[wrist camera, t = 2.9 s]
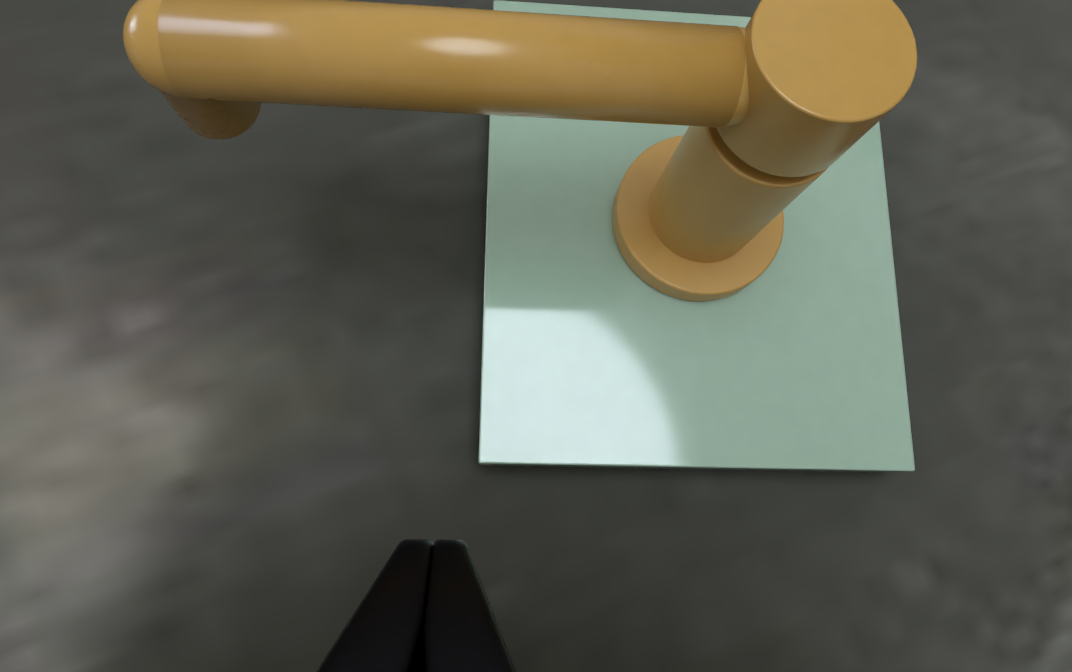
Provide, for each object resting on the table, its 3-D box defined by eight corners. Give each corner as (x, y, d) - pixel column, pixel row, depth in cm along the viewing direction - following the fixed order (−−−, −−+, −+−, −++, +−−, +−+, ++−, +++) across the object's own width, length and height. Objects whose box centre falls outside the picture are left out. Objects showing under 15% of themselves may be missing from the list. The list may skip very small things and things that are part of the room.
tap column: (806, 246, 20) (928, 154, 15) (676, 333, 19) (755, 271, 14) (708, 118, 21) (791, -15, 15) (579, 198, 20) (616, 86, 14)
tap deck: (884, 472, 20) (916, 471, 19) (478, 465, 20) (478, 463, 18) (845, 53, 24) (869, 24, 22) (492, 30, 23) (493, -1, 21)
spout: (823, 77, 16) (909, -26, 12) (834, 202, 15) (927, 125, 12) (186, 38, 15) (106, -84, 11) (167, 170, 14) (77, 78, 11)
